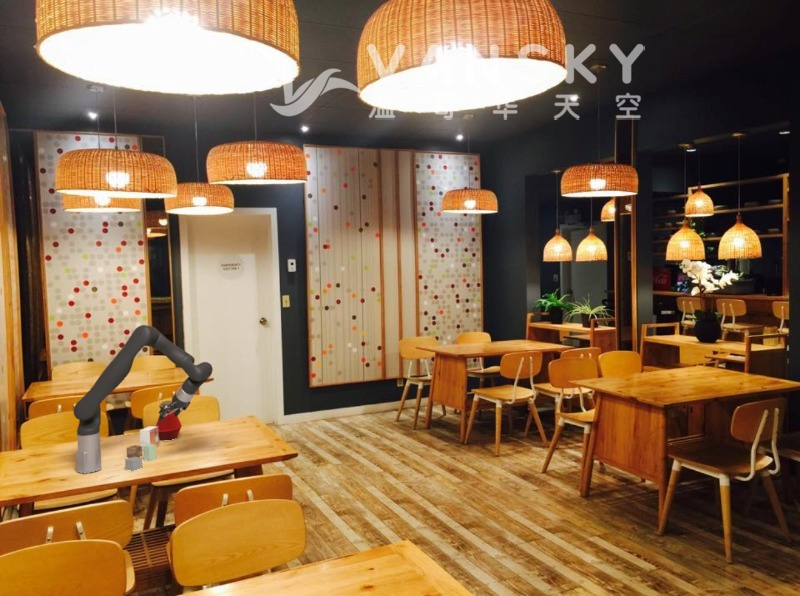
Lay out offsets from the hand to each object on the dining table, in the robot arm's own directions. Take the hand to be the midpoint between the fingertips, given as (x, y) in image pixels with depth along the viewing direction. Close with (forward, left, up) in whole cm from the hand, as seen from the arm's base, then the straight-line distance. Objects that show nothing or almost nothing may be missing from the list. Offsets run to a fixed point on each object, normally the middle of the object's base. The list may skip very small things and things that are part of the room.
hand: (167, 417), depth 295 cm
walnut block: (0, +24, -22) cm, 33 cm away
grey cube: (-13, +8, -22) cm, 27 cm away
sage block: (0, +13, -22) cm, 26 cm away
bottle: (+30, +35, -22) cm, 51 cm away
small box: (+13, +29, -22) cm, 39 cm away
